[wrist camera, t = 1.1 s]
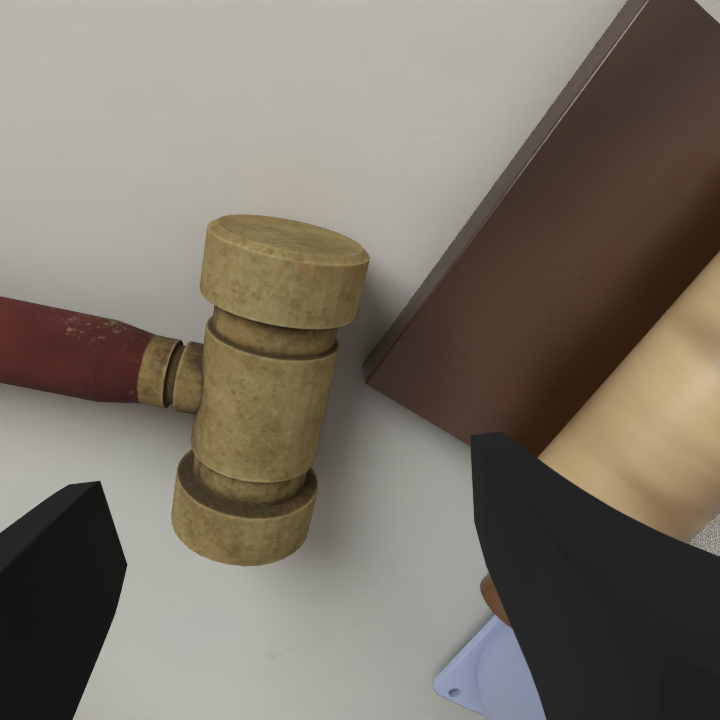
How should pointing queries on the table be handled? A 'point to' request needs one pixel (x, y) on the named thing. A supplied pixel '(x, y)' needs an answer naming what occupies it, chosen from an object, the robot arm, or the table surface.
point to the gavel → (221, 377)
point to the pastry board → (572, 240)
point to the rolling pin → (653, 425)
